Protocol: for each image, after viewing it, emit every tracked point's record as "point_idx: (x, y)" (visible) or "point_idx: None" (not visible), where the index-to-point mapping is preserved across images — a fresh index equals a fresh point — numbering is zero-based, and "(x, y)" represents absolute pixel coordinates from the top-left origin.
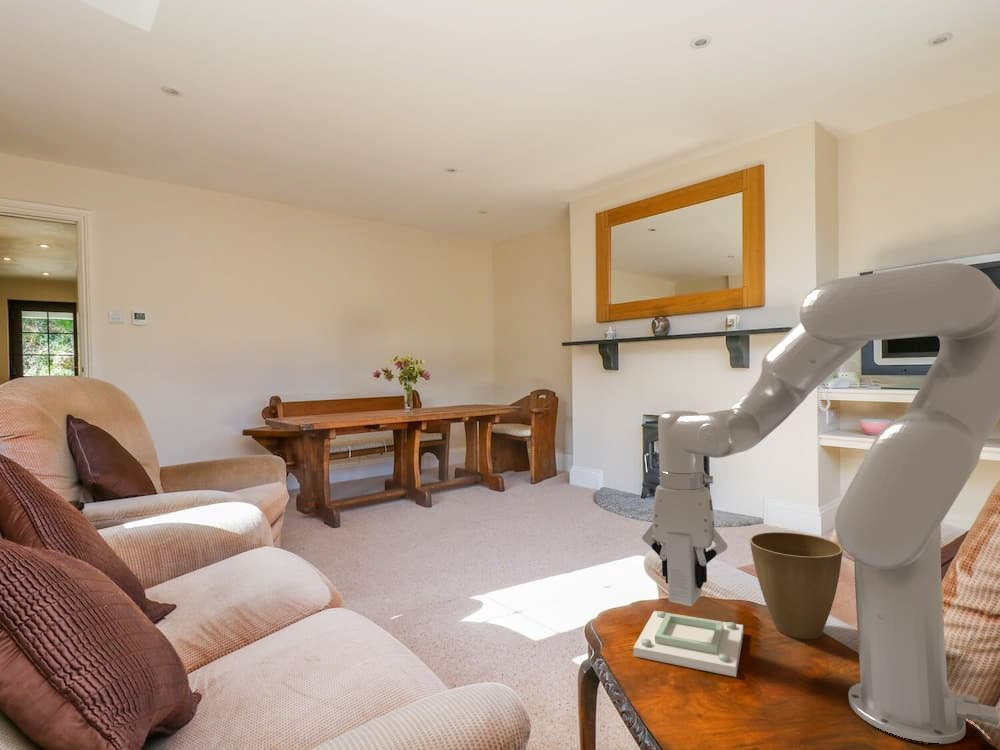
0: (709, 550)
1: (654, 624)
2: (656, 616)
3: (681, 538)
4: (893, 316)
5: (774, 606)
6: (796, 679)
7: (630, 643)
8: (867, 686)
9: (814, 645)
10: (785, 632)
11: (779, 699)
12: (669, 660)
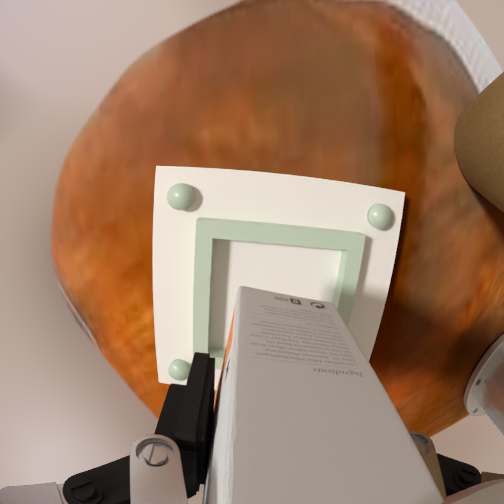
0: (447, 492)
1: (172, 261)
2: (168, 205)
3: None
4: None
5: (495, 195)
6: (439, 350)
7: (140, 324)
8: (489, 409)
9: (494, 214)
10: (469, 183)
11: (397, 407)
12: None
